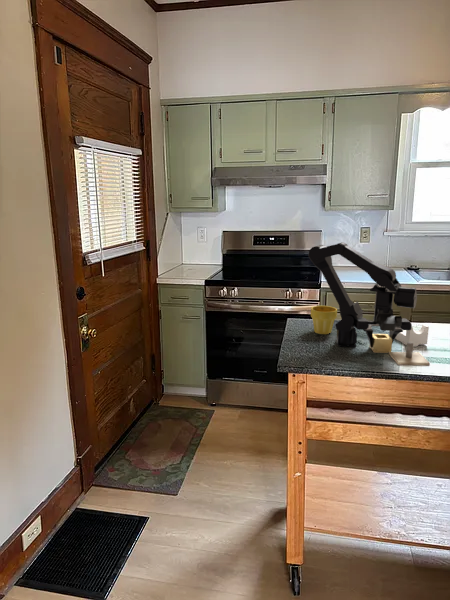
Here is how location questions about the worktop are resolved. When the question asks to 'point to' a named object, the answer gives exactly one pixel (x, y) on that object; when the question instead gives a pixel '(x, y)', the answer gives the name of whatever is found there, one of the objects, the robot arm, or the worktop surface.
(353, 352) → the worktop surface
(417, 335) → the bracket
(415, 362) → the post board
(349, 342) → the robot arm
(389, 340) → the brass collar
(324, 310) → the plant pot
